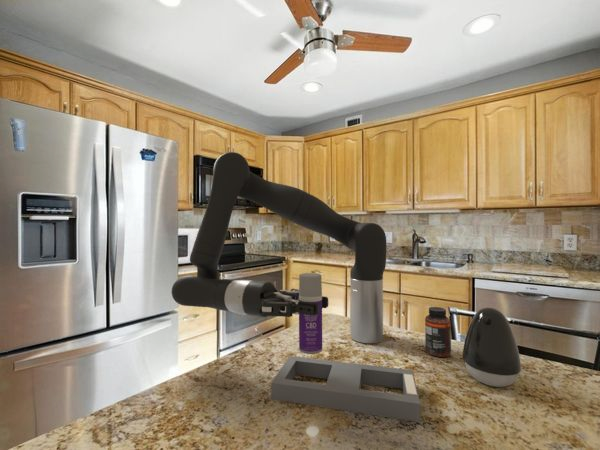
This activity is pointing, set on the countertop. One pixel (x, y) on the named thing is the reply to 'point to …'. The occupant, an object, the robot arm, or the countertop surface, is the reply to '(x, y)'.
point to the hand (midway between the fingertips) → (322, 305)
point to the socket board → (348, 387)
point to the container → (310, 323)
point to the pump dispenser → (491, 349)
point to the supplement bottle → (437, 332)
